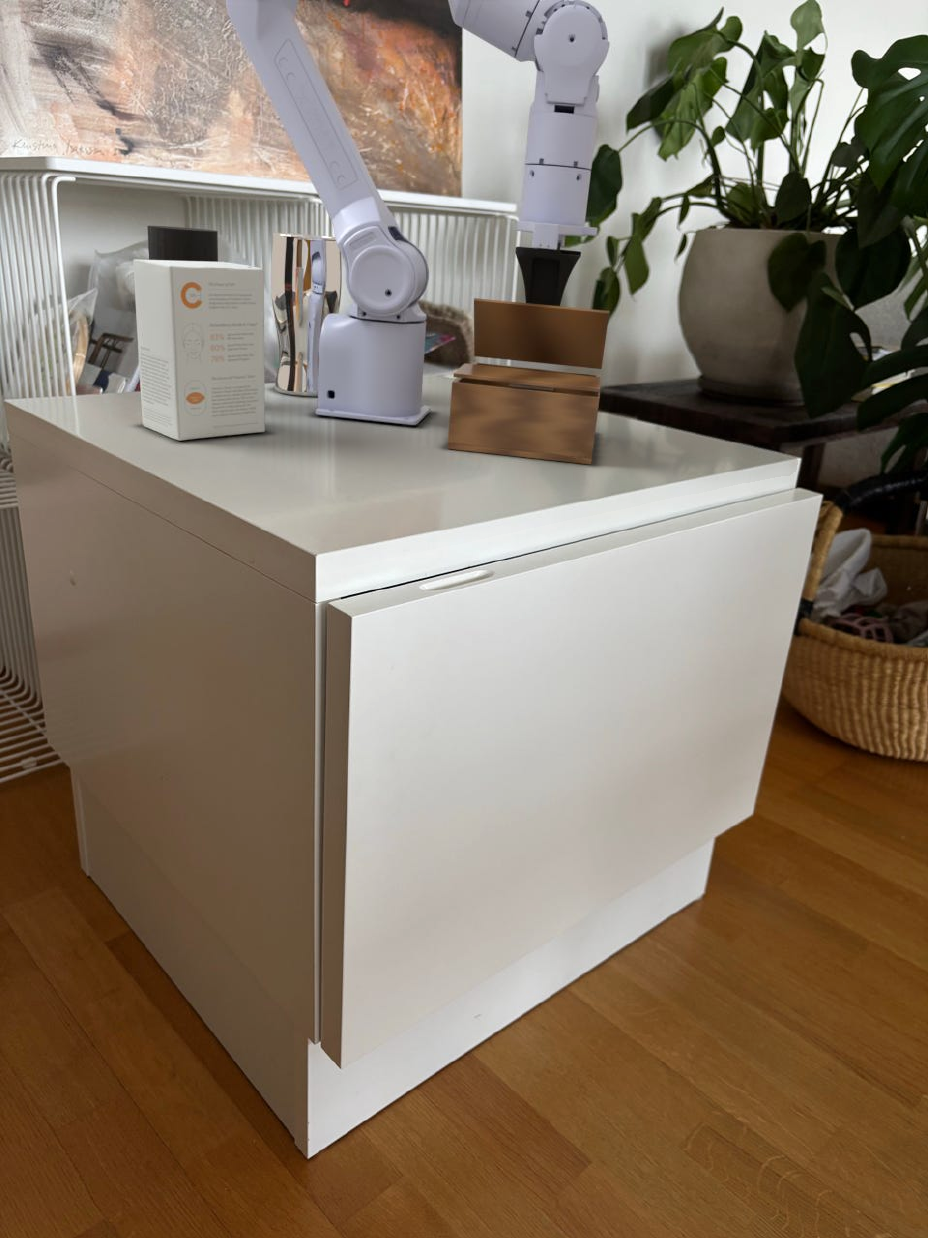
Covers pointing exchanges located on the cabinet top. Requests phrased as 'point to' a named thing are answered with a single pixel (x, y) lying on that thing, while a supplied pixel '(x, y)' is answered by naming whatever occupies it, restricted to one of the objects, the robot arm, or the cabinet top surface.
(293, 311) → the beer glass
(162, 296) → the small box
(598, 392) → the wooden box
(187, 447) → the cabinet top surface
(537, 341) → the flap
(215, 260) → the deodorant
